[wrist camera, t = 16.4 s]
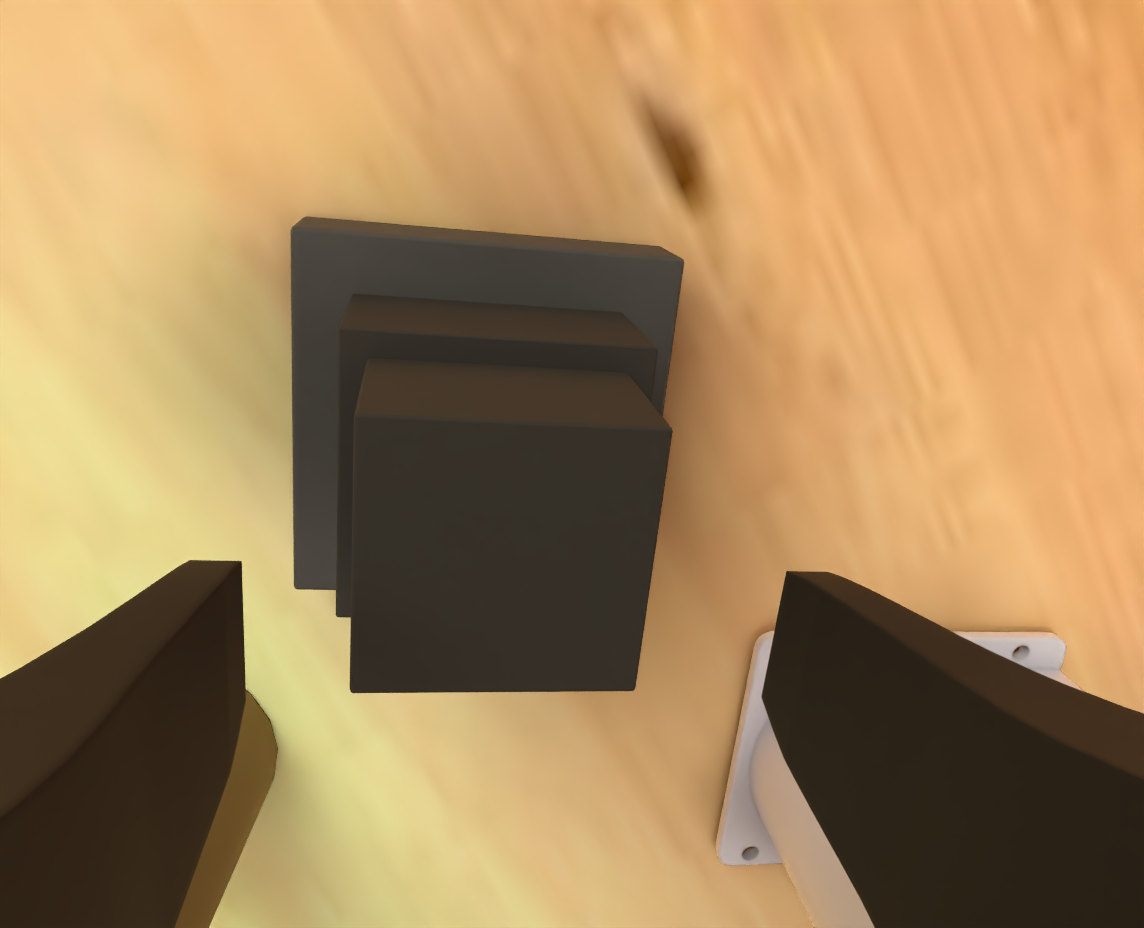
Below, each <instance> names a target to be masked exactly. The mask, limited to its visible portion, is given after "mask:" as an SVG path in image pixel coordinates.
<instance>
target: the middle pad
mask: <svg viewBox="0 0 1144 928" xmlns="http://www.w3.org/2000/svg"><path fill="white" fill-rule="evenodd" d="M657 356H658V347H657V346H656V345H655V344H654V343H653V342H652V341H650V340H649V339H648V338H647V337H646V336H645V335H644V334H643V333H642V332H641V331H640V330H639V329H638V328H637V327H636V326H635V325H634V324H633V323H632V322H631V321H630V320H629V319H628V318H627V317H626V316H625V315H624V314H623V313H621V312H610V311H596V310H581V309H567V308H553V307H538V306H524V305H510V304H495V303H481V302H466V301H452V300H438V299H423V298H409V297H395V296H380V295H366V294H353V295H352V297H351V299H350V302H349V304H348V307H347V309H346V312H345V314H344V317H343V319H342V322H341V324H340V327H339V329H338V426H337V545H336V616H337V617H351V580H352V515H353V449H354V414H355V410H356V406H357V401H358V397H359V393H360V388H361V384H362V380H363V376H364V371H365V367H366V363H367V360H368V359H369V358H383V359H400V360H417V361H435V362H452V363H469V364H487V365H504V366H521V367H539V368H556V369H573V370H591V371H608V372H625V373H628V374H629V376H630V377H631V378H632V379H633V381H634V382H635V383H636V384H637V386H638V387H639V388H640V389H641V391H642V392H643V393H644V394H645V396H646V397H647V398H648V399H649V401H650V402H651V401H652V393H653V386H654V378H655V371H656V363H657Z"/></svg>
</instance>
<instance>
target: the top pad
mask: <svg viewBox="0 0 1144 928" xmlns="http://www.w3.org/2000/svg"><path fill="white" fill-rule="evenodd" d="M671 438H672V428H671V427H670V426H669V424H668V423H667V422H666V421H665V419H664V418H663V417H662V416H661V414H660V413H659V412H658V411H657V409H656V408H655V407H654V406H653V404H652V403H651V402H650V401H649V399H648V398H647V397H646V396H645V394H644V393H643V392H642V391H641V389H640V388H639V387H638V386H637V384H636V383H635V382H634V381H633V379H632V378H631V377H630V376H629V374H628V373H625V372H608V371H591V370H573V369H556V368H539V367H521V366H504V365H487V364H469V363H452V362H435V361H417V360H400V359H383V358H369V359H368V360H367V363H366V367H365V371H364V376H363V380H362V384H361V388H360V393H359V397H358V401H357V406H356V410H355V414H354V449H353V515H352V580H351V645H350V690H351V692H352V693H418V692H559V691H633V690H635V687H636V680H637V673H638V666H639V659H640V652H641V645H642V638H643V631H644V624H645V617H646V611H647V604H648V597H649V590H650V583H651V576H652V569H653V562H654V555H655V548H656V541H657V534H658V528H659V521H660V514H661V507H662V500H663V493H664V486H665V479H666V472H667V465H668V458H669V451H670V445H671Z"/></svg>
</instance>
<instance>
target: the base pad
mask: <svg viewBox="0 0 1144 928" xmlns="http://www.w3.org/2000/svg"><path fill="white" fill-rule="evenodd" d="M683 266H684V260H683V259H682V258H680V257H678V256H676V255H674V254H672V253H671V252H669V251H667V250H665V249H663V248H661V247H660V246H648V245H636V244H624V243H612V242H601V241H589V240H577V239H565V238H553V237H541V236H529V235H517V234H506V233H494V232H482V231H470V230H458V229H446V228H434V227H422V226H411V225H399V224H387V223H375V222H363V221H351V220H339V219H327V218H316V217H304V218H303V219H302V220H300V221H299V222H298V223H297V224H296V225H294V226H293V227H292V229H291V311H292V422H293V532H294V586H295V589H313V590H336V545H337V426H338V329H339V327H340V324H341V322H342V319H343V317H344V314H345V312H346V309H347V307H348V304H349V302H350V299H351V297H352V295H353V294H366V295H380V296H395V297H409V298H423V299H438V300H452V301H466V302H481V303H495V304H510V305H524V306H538V307H553V308H567V309H581V310H596V311H610V312H621V313H623V314H624V315H625V316H626V317H627V318H628V319H629V320H630V321H631V322H632V323H633V324H634V325H635V326H636V327H637V328H638V329H639V330H640V331H641V332H642V333H643V334H644V335H645V336H646V337H647V338H648V339H649V340H650V341H652V342H653V343H654V344H655V345H656V346H657V347H658V356H657V363H656V371H655V378H654V386H653V393H652V401H651V403H652V404H653V406H654V407H655V408H656V409H657V411H658V412H659V413H660V414H661V416H663V409H664V402H665V395H666V388H667V381H668V374H669V366H670V359H671V352H672V345H673V338H674V331H675V324H676V316H677V309H678V302H679V295H680V288H681V281H682V274H683Z"/></svg>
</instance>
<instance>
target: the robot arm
mask: <svg viewBox="0 0 1144 928" xmlns="http://www.w3.org/2000/svg"><path fill="white" fill-rule="evenodd" d="M1019 646H1020V648H1019V650H1018V651H1016V652H1015V653H1013V652H1014V650H1015V649H1016V648H1017V647H1019ZM1066 648H1067V646H1066V644H1065V642H1064V641H1063V640H1062V639H1061V638H1060V637H1058V636H1057V635H1056V634H1055V633H1051V632H962V631H950V630H948V629H946V628H944V627H942V626H940V625H938V624H936V623H934V622H932V621H930V620H928V619H926V618H924V617H922V616H921V615H919V614H917V613H915V612H913V611H911V610H909V609H907V608H905V607H903V606H901V605H899V604H897V603H895V602H894V601H892V600H890V599H888V598H886V597H884V596H882V595H880V594H878V593H876V592H874V591H872V590H870V589H868V588H866V587H863V586H861V585H859V584H857V583H855V582H853V581H850V580H848V579H846V578H843V577H841V576H838V575H835V574H832V573H829V572H799V571H787V572H786V577H785V582H784V587H783V592H782V596H781V601H780V606H779V611H778V616H777V621H776V626H775V630H774V631H768V632H766V633H764V634H762V635H761V636H760V637H759V638H758V639H757V640H756V643H755V645H754V649H753V654H752V659H751V664H750V669H749V675H748V680H747V685H746V690H745V695H744V700H743V705H742V711H741V716H740V721H739V726H738V731H737V736H736V741H735V747H734V752H733V757H732V762H731V767H730V772H729V777H728V783H727V788H726V793H725V798H724V803H723V808H722V813H721V819H720V824H719V829H718V834H717V839H716V844H715V851H716V853H717V856H718V858H719V860H720V862H721V863H723V864H725V865H730V866H736V865H759V864H782V863H783V864H784V866H785V868H786V870H787V872H788V875H789V877H790V879H791V881H792V883H793V885H794V887H795V889H796V891H797V893H798V895H799V897H800V899H801V901H802V904H803V906H804V908H805V910H806V912H807V914H808V916H809V918H810V920H811V922H812V924H813V926H814V928H1144V714H1143V713H1140V712H1137V711H1134V710H1131V709H1129V708H1126V707H1123V706H1120V705H1117V704H1115V703H1112V702H1110V701H1107V700H1104V699H1102V698H1099V697H1097V696H1094V695H1092V694H1089V693H1086V692H1084V691H1083V690H1082V689H1081V688H1080V687H1078V686H1077V685H1076V684H1075V683H1074V682H1073V681H1072V680H1070V679H1069V678H1068V677H1067V676H1066V675H1065V674H1063V673H1062V672H1061V671H1060V669H1061V666H1062V663H1063V660H1064V657H1065V654H1066ZM245 703H246V690H245V658H244V625H243V593H242V561H201V560H190V561H188V562H186V563H184V564H182V565H181V566H179V567H177V568H176V569H174V570H173V571H171V572H170V573H168V574H167V575H165V576H164V577H162V578H161V579H159V580H158V581H156V582H155V583H154V584H152V585H151V586H149V587H148V588H146V589H145V590H143V591H142V592H140V593H139V594H137V595H136V596H135V597H133V598H132V599H130V600H129V601H127V602H126V603H124V604H123V605H121V606H120V607H118V608H117V609H115V610H114V611H112V612H111V613H109V614H108V615H106V616H105V617H103V618H102V619H100V620H99V621H97V622H96V623H94V624H93V625H91V626H90V627H88V628H86V629H85V630H83V631H81V632H80V633H78V634H76V635H75V636H73V637H71V638H70V639H68V640H66V641H65V642H63V643H61V644H60V645H58V646H56V647H55V648H53V649H51V650H50V651H48V652H46V653H45V654H43V655H41V656H40V657H38V658H36V659H35V660H33V661H31V662H30V663H28V664H26V665H24V666H23V667H21V668H19V669H17V670H16V671H14V672H12V673H10V674H8V675H6V676H5V677H3V678H1V679H0V928H175V925H176V922H177V919H178V917H179V914H180V911H181V908H182V906H183V903H184V900H185V897H186V895H187V892H188V889H189V886H190V884H191V881H192V878H193V875H194V873H195V870H196V867H197V864H198V862H199V859H200V856H201V853H202V851H203V848H204V845H205V842H206V840H207V837H208V834H209V831H210V829H211V826H212V823H213V820H214V817H215V815H216V812H217V809H218V806H219V803H220V801H221V798H222V795H223V792H224V789H225V786H226V784H227V781H228V778H229V775H230V772H231V768H232V764H233V759H234V755H235V751H236V746H237V742H238V737H239V732H240V727H241V722H242V717H243V712H244V707H245ZM751 846H753V847H751ZM747 847H751V848H750V849H748V850H745V849H746V848H747Z"/></svg>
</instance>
